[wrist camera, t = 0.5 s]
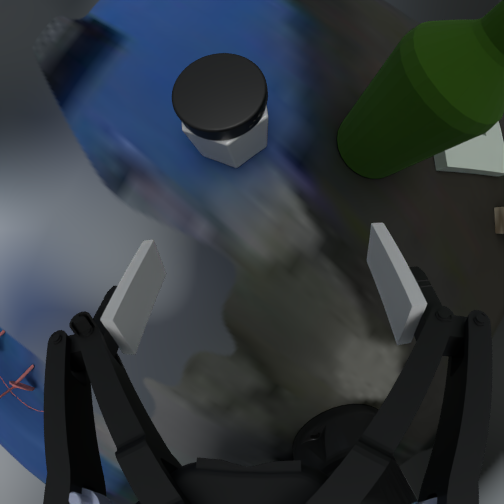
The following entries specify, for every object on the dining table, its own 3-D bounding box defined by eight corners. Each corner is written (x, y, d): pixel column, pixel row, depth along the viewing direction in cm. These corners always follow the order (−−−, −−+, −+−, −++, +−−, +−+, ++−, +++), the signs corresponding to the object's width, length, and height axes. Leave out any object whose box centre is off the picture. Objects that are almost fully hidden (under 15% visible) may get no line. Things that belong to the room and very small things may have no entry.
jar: (271, 163, 33) (275, 129, 21) (203, 173, 34) (173, 144, 22) (261, 98, 33) (259, 43, 21) (197, 108, 33) (170, 58, 21)
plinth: (497, 176, 32) (509, 174, 29) (435, 170, 32) (447, 166, 29) (476, 86, 31) (485, 80, 28) (412, 69, 31) (421, 60, 28)
